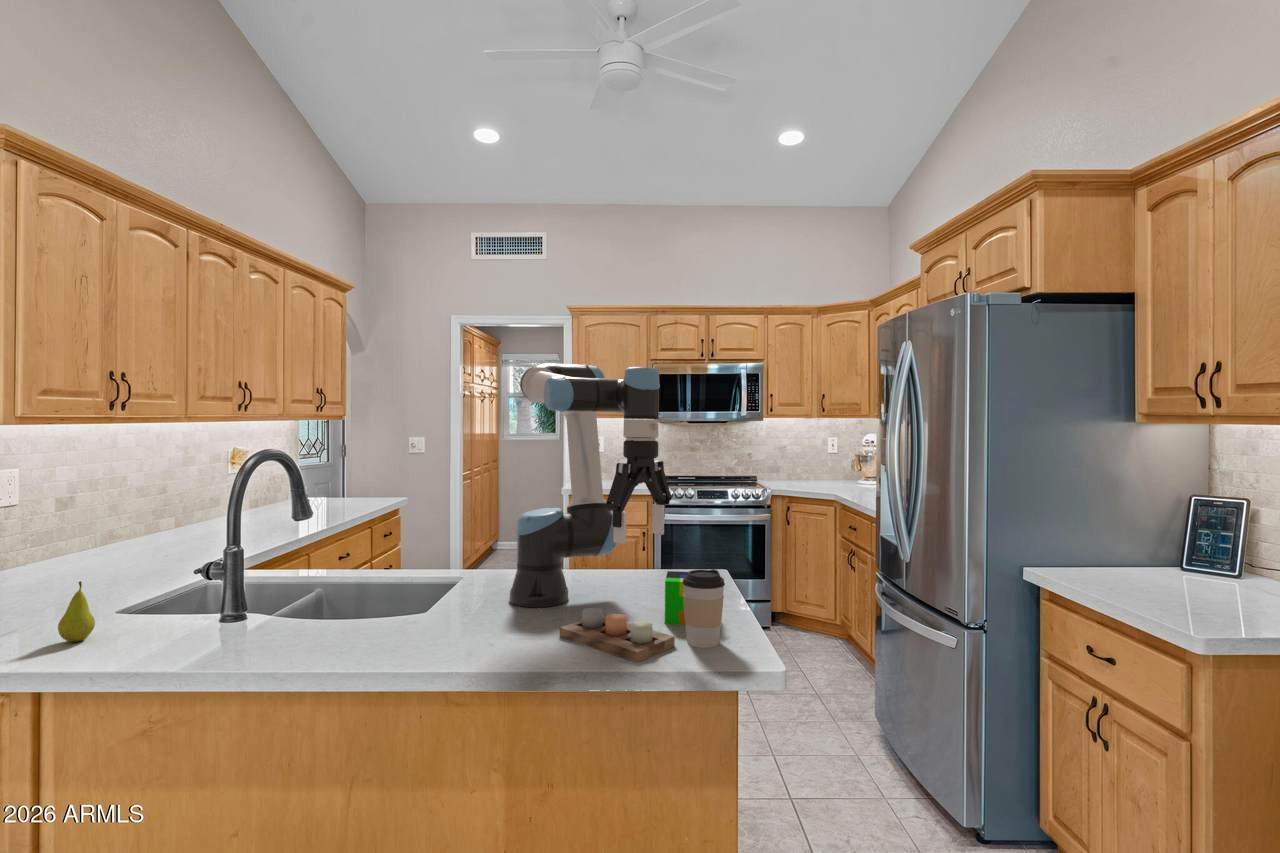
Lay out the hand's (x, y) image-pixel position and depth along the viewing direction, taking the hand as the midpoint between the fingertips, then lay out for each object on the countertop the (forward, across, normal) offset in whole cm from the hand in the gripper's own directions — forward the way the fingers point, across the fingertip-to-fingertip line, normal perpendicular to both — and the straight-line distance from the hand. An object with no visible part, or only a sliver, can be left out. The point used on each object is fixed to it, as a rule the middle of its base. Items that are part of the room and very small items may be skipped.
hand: (639, 538), depth 135 cm
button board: (+22, -5, +2) cm, 22 cm away
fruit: (+22, -75, +89) cm, 118 cm away
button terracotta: (+20, -5, +2) cm, 20 cm away
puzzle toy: (+22, +18, -1) cm, 29 cm away
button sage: (+20, -5, -5) cm, 21 cm away
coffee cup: (+22, +7, -12) cm, 26 cm away
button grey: (+20, -4, +9) cm, 22 cm away
